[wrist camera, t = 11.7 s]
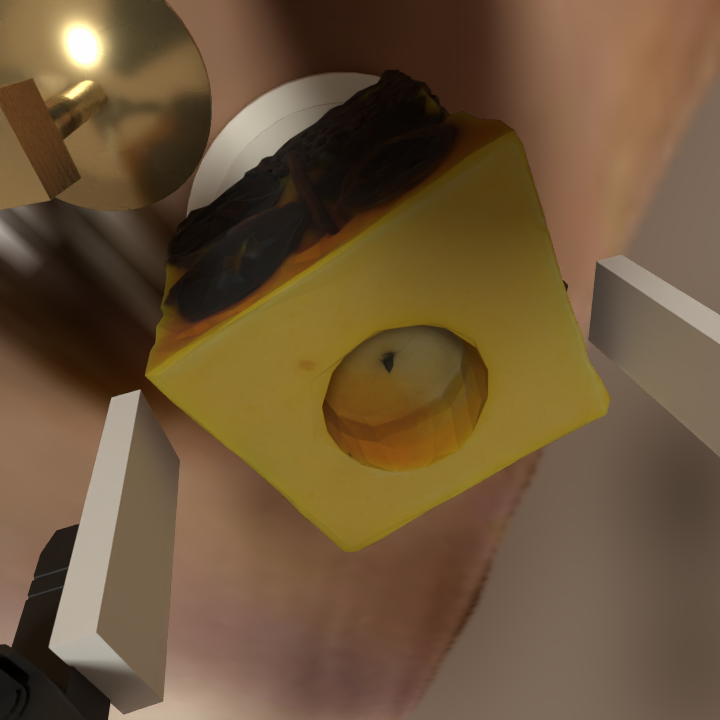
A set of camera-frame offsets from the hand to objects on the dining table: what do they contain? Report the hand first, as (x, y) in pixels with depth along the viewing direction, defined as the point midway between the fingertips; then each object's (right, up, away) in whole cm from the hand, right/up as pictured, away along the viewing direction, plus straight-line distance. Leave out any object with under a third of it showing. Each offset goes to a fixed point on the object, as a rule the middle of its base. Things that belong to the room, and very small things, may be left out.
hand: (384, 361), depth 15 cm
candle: (-1, +5, +7) cm, 9 cm away
